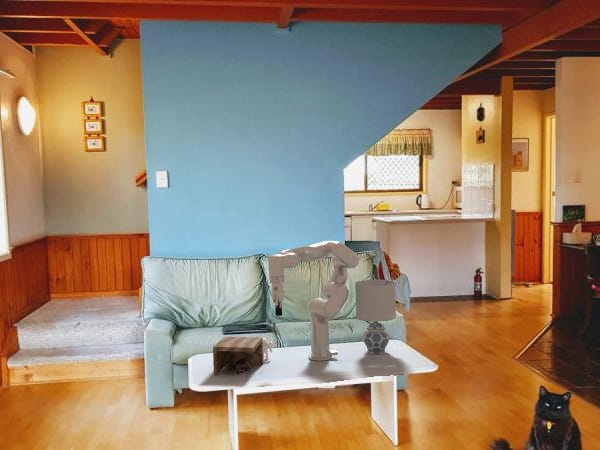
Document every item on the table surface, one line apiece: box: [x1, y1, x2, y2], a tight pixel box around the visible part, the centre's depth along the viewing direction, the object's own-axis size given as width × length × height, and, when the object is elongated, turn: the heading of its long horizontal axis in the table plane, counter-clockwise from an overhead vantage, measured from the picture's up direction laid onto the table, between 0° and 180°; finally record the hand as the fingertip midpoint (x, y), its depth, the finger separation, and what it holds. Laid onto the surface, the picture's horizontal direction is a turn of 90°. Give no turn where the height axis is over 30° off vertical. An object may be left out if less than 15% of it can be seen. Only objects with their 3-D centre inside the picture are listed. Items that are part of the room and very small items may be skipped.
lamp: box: [354, 279, 397, 355], centre depth 315 cm, size 22×22×38 cm
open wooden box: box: [212, 336, 264, 376], centre depth 289 cm, size 20×20×14 cm
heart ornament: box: [231, 359, 252, 376], centre depth 288 cm, size 6×12×11 cm
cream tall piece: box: [262, 335, 274, 361], centre depth 307 cm, size 9×4×12 cm, turn 98°
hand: (279, 315), depth 292 cm, fingers closed
